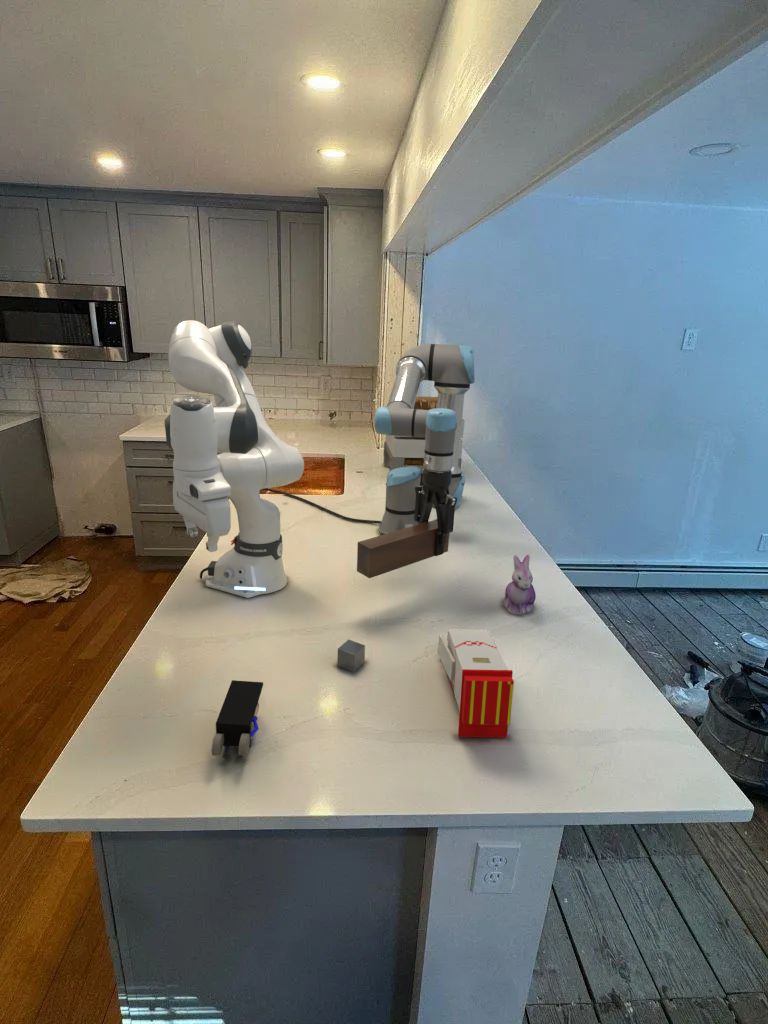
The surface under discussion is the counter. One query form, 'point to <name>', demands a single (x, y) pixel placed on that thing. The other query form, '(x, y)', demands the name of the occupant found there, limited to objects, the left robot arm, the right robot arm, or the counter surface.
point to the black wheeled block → (237, 718)
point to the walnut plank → (397, 549)
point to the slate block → (351, 655)
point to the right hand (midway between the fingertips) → (431, 550)
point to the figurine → (520, 588)
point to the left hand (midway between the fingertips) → (202, 543)
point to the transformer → (411, 442)
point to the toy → (478, 682)
